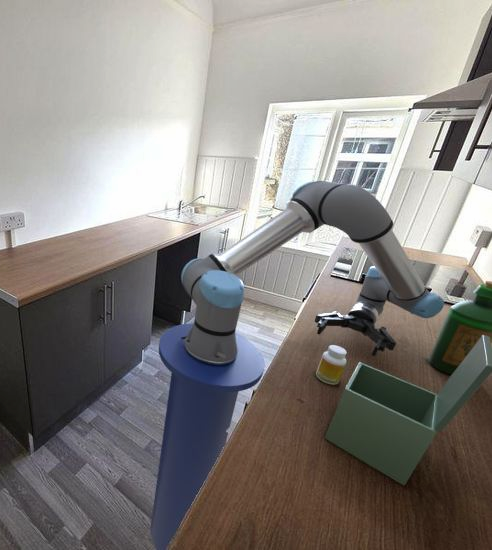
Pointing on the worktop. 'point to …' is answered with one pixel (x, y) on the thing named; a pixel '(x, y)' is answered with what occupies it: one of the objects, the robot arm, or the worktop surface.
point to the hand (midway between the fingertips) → (345, 340)
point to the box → (384, 422)
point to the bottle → (463, 329)
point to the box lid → (464, 382)
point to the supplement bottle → (332, 365)
